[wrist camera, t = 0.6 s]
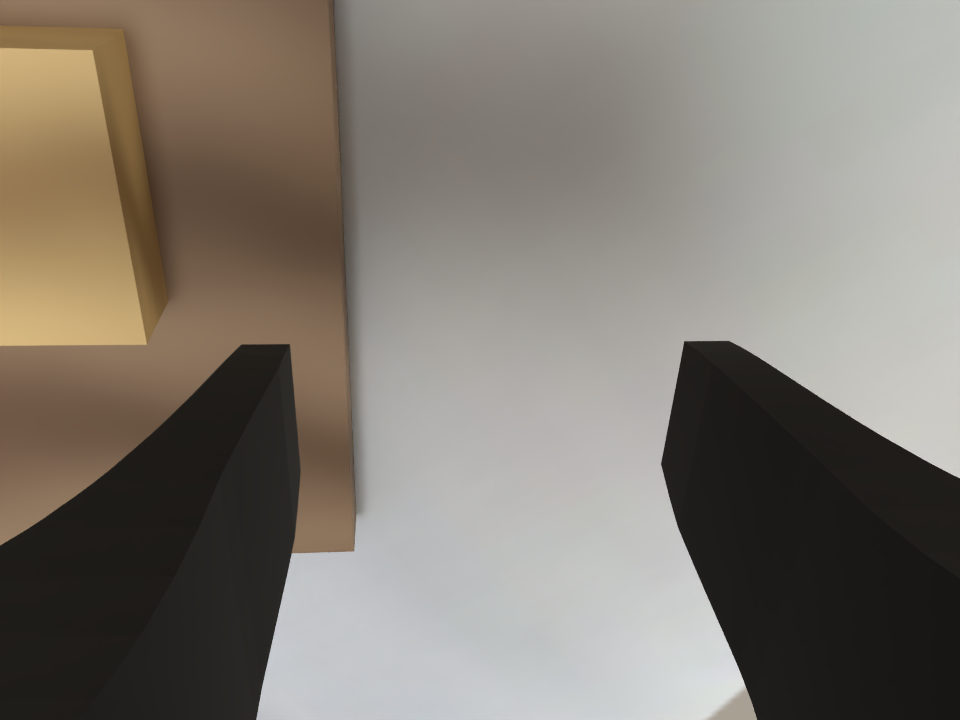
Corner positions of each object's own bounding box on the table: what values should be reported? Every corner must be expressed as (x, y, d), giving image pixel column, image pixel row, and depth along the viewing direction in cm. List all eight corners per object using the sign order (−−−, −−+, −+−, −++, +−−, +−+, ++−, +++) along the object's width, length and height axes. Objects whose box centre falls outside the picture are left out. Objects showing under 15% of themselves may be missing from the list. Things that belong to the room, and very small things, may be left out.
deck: (355, 515, 26) (353, 551, 24) (6, 524, 25) (-15, 562, 23) (318, -335, 15) (311, -350, 14) (-284, -375, 14) (-350, -395, 13)
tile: (168, 301, 20) (147, 344, 18) (-59, 301, 19) (-103, 346, 18) (123, 28, 17) (92, 50, 15) (-149, 21, 16) (-212, 43, 15)
